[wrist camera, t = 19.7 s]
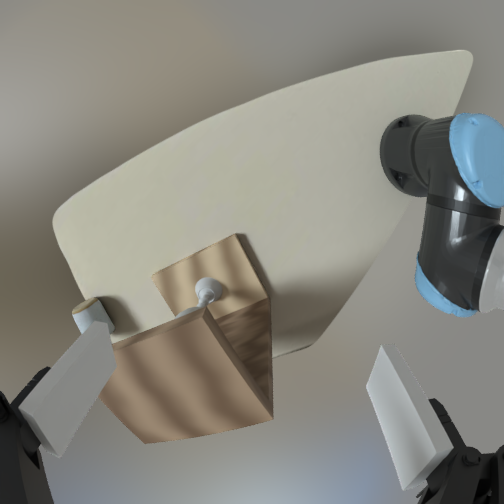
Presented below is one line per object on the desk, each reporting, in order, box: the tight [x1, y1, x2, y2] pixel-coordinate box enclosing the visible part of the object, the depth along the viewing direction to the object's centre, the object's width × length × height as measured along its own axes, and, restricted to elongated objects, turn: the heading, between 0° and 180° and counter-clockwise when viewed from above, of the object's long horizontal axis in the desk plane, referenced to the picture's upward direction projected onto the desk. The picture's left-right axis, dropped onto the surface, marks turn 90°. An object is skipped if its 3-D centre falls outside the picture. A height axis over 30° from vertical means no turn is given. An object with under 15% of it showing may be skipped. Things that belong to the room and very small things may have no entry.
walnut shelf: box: [98, 233, 273, 444], centre depth 40 cm, size 18×14×29 cm
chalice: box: [175, 277, 222, 319], centre depth 44 cm, size 7×7×18 cm
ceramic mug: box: [72, 298, 115, 334], centre depth 54 cm, size 11×8×8 cm
